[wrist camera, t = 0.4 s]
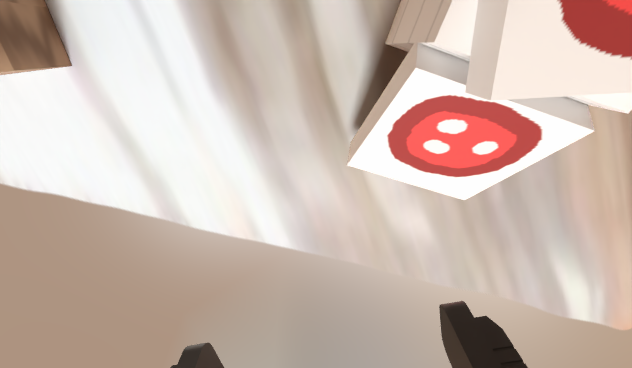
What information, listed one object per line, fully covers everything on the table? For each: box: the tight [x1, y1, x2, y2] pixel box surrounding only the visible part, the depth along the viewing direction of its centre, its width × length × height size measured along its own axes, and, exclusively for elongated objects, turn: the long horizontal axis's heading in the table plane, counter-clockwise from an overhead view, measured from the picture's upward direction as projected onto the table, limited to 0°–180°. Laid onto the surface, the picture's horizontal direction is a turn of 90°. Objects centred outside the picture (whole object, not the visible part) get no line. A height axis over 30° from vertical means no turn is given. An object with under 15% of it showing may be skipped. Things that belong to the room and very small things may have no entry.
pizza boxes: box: [347, 0, 632, 200], centre depth 25 cm, size 19×30×18 cm, turn 162°
